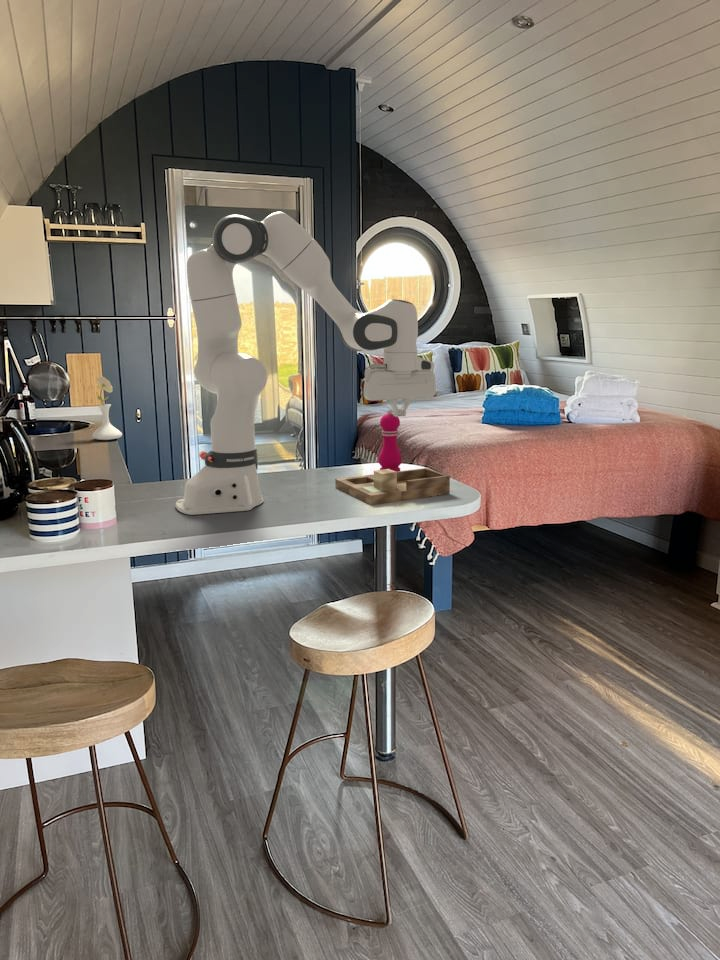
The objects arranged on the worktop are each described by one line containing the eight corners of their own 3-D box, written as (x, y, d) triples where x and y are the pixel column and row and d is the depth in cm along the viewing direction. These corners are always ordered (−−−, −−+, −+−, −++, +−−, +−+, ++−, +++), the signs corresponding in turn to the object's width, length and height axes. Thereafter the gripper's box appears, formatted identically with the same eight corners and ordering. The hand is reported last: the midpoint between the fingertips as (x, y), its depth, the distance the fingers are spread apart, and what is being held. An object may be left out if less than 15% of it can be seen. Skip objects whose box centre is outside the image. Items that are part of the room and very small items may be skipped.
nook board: (371, 504, 192) (370, 486, 191) (335, 487, 211) (335, 470, 210) (449, 493, 202) (449, 476, 201) (408, 478, 222) (408, 461, 221)
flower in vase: (125, 440, 294) (120, 376, 289) (95, 443, 289) (89, 378, 283) (118, 435, 305) (112, 374, 300) (89, 438, 300) (83, 375, 294)
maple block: (382, 490, 197) (381, 473, 196) (373, 487, 201) (373, 470, 200) (396, 488, 199) (396, 471, 198) (388, 485, 203) (388, 468, 202)
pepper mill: (402, 471, 231) (402, 407, 227) (401, 476, 224) (401, 410, 220) (379, 471, 232) (378, 407, 227) (377, 476, 225) (376, 410, 220)
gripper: (370, 365, 188) (370, 419, 190) (439, 363, 196) (438, 415, 199) (359, 363, 193) (359, 416, 196) (427, 361, 202) (425, 412, 205)
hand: (399, 416), depth 198 cm, fingers closed
